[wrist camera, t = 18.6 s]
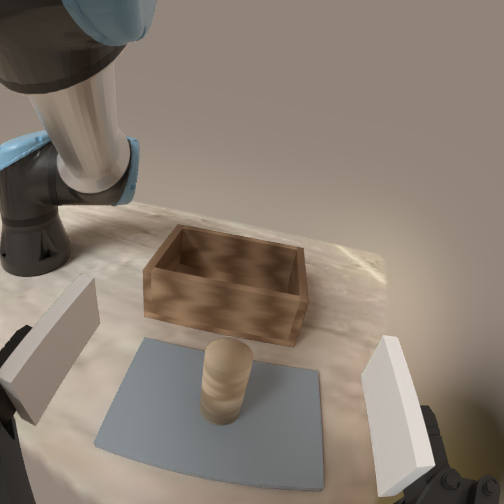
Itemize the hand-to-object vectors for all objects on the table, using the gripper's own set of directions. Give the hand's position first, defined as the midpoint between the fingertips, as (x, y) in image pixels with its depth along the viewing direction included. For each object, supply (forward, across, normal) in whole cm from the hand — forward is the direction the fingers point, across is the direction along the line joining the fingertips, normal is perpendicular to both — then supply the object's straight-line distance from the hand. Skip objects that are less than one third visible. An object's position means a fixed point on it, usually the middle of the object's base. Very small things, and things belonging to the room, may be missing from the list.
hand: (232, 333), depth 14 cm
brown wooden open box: (+31, -3, -22) cm, 39 cm away
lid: (+10, 0, -22) cm, 25 cm away
